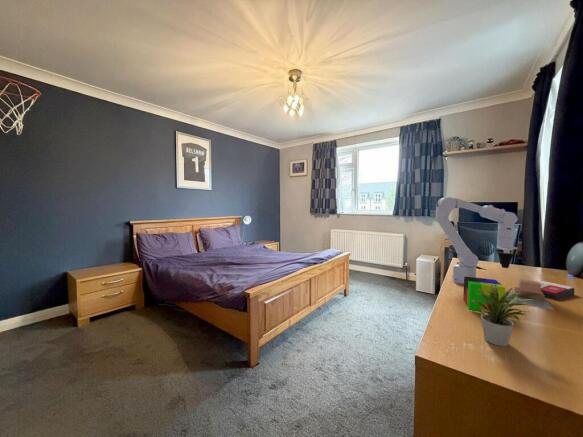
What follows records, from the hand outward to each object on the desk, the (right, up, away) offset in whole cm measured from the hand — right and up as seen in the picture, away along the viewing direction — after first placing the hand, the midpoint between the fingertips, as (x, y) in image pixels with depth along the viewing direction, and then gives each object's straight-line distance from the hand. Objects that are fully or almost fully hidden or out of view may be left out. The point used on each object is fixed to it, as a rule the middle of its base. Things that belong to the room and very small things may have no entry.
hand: (504, 266), depth 114 cm
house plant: (-43, -13, -46) cm, 64 cm away
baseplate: (-8, -11, -13) cm, 19 cm away
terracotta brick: (-2, -8, -13) cm, 16 cm away
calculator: (+11, -11, -9) cm, 18 cm away
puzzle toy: (-28, -12, -22) cm, 38 cm away
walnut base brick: (-1, -10, -13) cm, 17 cm away
